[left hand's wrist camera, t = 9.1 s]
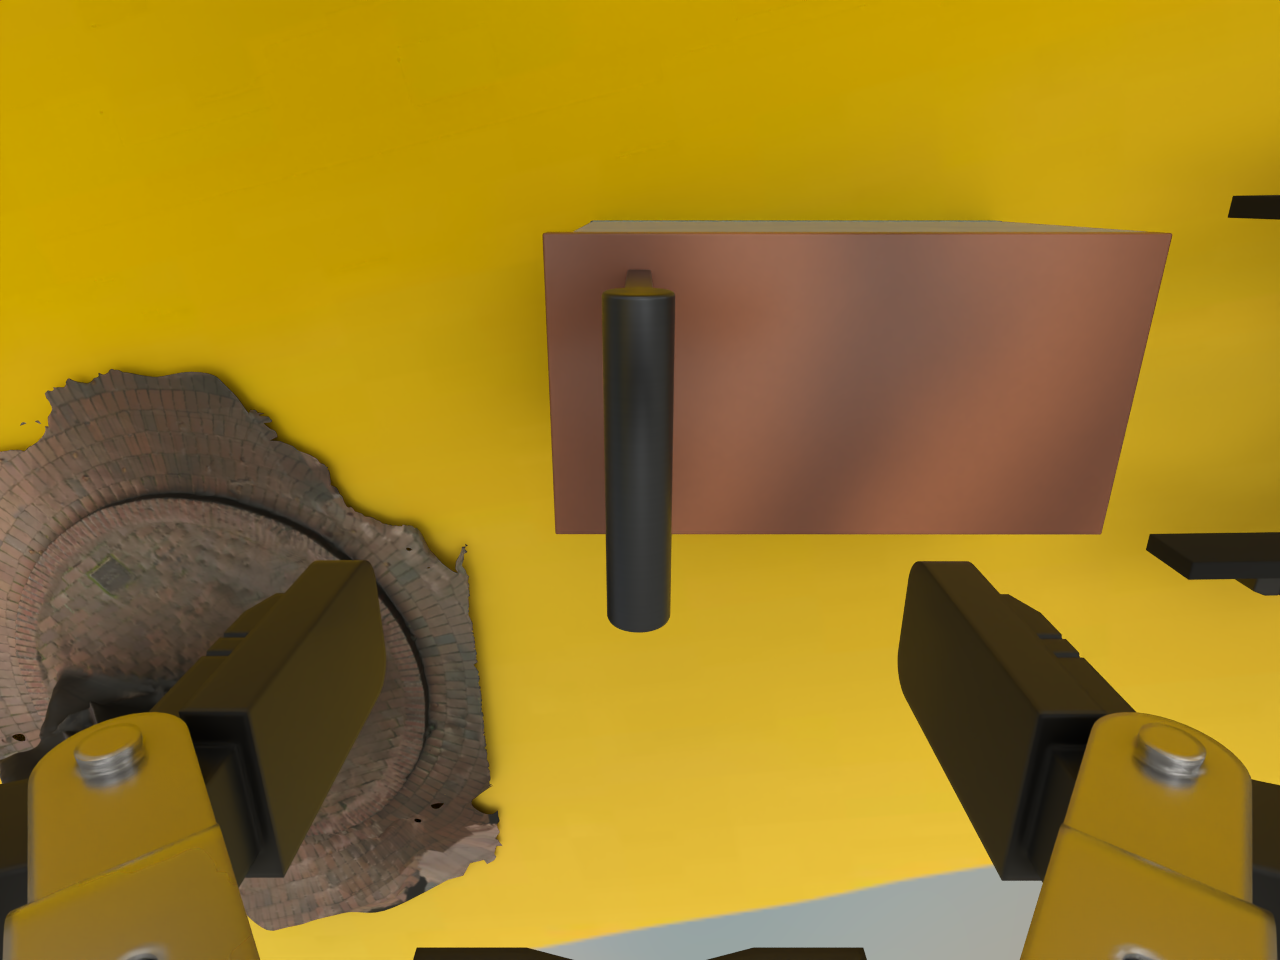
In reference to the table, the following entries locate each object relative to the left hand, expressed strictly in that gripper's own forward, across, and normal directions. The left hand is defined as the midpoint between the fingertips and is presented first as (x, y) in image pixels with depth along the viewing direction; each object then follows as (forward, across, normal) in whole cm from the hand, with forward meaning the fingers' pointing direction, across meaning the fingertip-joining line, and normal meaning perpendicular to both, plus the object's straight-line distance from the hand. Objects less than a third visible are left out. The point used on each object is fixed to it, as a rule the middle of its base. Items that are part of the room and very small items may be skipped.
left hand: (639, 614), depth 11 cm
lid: (+14, -6, 0) cm, 15 cm away
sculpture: (+25, +22, +19) cm, 39 cm away
